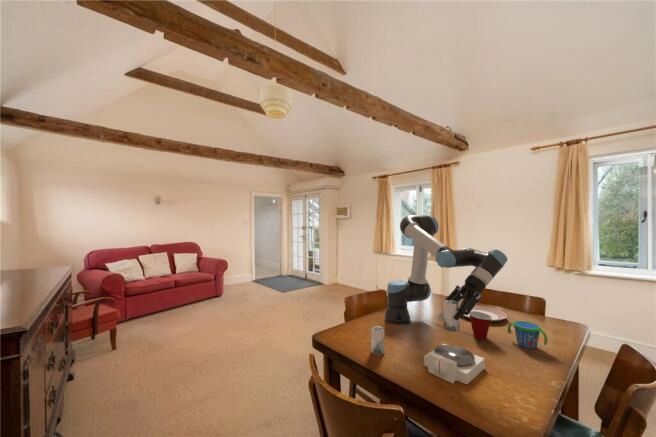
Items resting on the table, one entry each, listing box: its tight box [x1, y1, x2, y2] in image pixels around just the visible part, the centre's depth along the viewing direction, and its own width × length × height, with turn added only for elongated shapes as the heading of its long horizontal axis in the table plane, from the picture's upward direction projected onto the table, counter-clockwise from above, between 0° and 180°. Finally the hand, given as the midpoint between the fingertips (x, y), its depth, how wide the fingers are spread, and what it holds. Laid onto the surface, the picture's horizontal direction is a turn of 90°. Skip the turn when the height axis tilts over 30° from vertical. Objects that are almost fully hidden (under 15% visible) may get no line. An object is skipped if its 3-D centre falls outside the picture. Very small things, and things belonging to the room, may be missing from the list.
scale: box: [423, 343, 486, 385], centre depth 107 cm, size 17×21×7 cm
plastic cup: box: [469, 311, 492, 341], centre depth 135 cm, size 11×11×12 cm
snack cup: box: [507, 320, 548, 350], centre depth 126 cm, size 16×10×10 cm
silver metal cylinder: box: [442, 299, 461, 333], centre depth 109 cm, size 6×6×11 cm
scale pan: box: [433, 344, 475, 366], centre depth 108 cm, size 15×15×1 cm
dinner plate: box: [462, 305, 507, 323], centre depth 165 cm, size 27×27×3 cm
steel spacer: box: [370, 325, 385, 356], centre depth 120 cm, size 6×6×11 cm
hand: (443, 321), depth 108 cm, fingers closed on silver metal cylinder, 6 cm apart
